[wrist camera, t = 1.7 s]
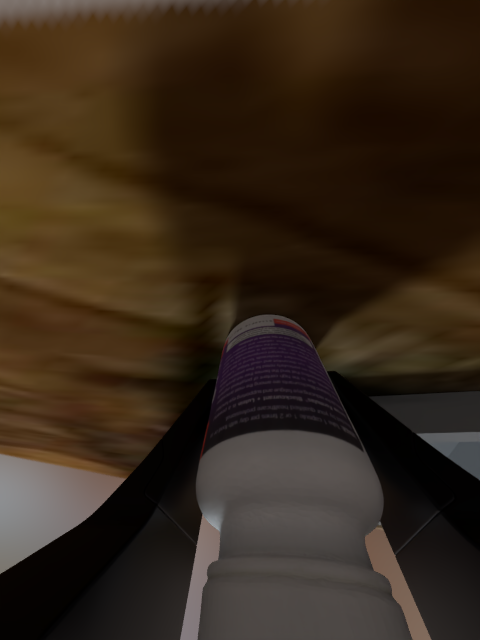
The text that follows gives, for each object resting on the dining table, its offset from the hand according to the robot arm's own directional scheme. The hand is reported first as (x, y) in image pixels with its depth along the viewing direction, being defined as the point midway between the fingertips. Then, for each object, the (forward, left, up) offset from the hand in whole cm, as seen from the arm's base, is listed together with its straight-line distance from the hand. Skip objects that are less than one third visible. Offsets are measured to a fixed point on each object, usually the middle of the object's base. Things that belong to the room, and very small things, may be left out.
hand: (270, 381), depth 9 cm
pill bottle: (0, 0, -3) cm, 3 cm away
